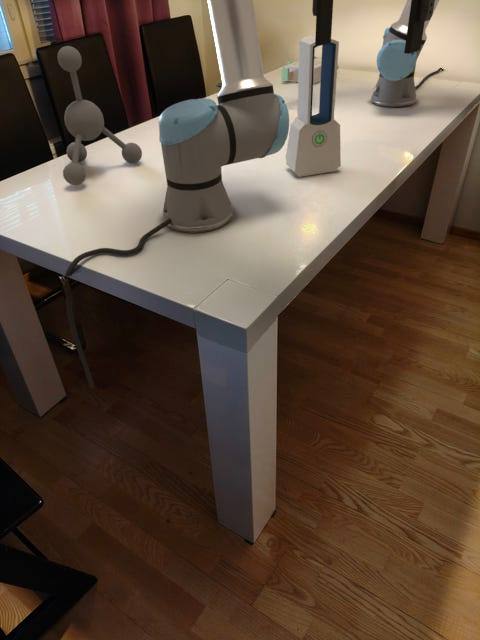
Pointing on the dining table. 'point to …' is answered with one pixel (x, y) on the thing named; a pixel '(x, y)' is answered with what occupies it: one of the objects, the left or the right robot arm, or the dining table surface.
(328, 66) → the electronic device
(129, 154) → the molecular model
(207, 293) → the dining table surface
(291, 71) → the decorative block
